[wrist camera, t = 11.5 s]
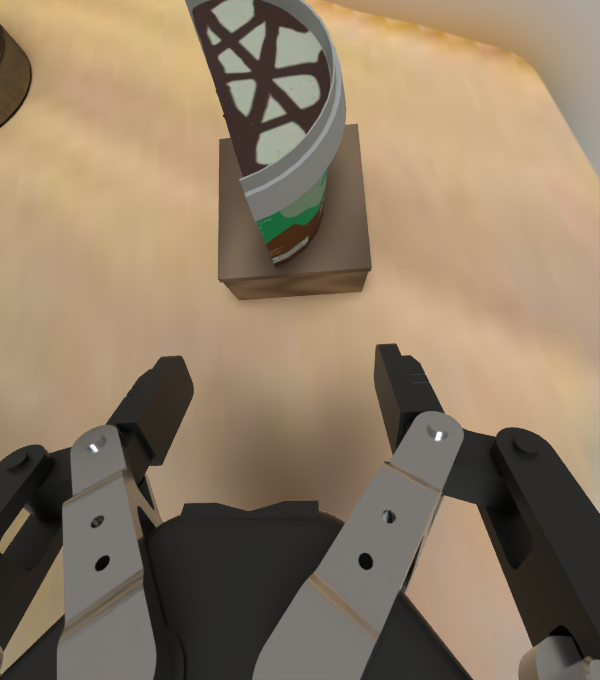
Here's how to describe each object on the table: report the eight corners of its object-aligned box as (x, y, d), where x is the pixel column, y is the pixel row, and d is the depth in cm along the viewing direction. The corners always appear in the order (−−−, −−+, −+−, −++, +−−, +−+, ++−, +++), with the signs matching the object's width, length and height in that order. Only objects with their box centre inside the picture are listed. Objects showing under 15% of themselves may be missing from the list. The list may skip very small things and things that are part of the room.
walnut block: (237, 301, 27) (218, 279, 22) (237, 182, 29) (219, 139, 24) (362, 292, 26) (371, 267, 21) (352, 171, 28) (357, 123, 24)
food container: (362, 259, 21) (392, 141, 12) (280, 285, 22) (242, 192, 12) (310, 124, 24) (300, -65, 14) (237, 148, 24) (177, -22, 14)
